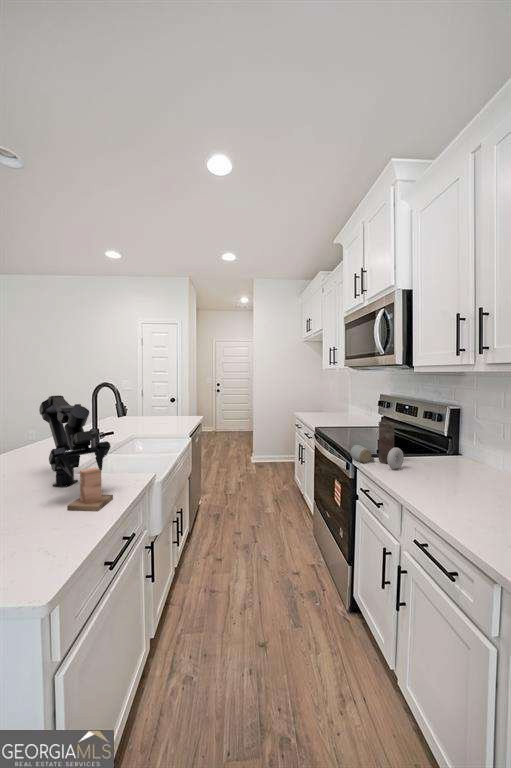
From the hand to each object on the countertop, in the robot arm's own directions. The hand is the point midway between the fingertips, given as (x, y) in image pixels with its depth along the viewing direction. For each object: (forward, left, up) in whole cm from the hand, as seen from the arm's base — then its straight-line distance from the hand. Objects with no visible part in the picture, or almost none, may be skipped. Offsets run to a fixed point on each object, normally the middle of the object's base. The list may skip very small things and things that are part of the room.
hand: (87, 473), depth 112 cm
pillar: (+2, +2, -8) cm, 9 cm away
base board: (+2, +2, -10) cm, 10 cm away
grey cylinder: (-58, +109, -10) cm, 123 cm away
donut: (-45, +119, -10) cm, 128 cm away
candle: (-57, +119, -10) cm, 133 cm away
